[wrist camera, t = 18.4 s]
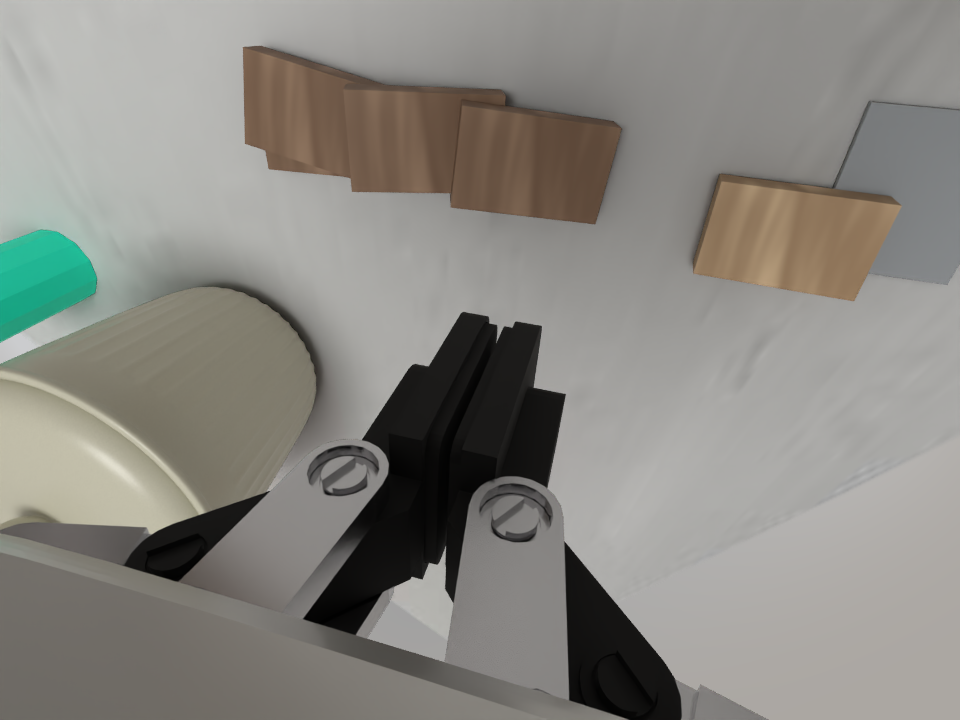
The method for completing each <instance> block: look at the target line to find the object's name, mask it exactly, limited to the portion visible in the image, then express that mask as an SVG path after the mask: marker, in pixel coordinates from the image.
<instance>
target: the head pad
mask: <svg viewBox="0 0 960 720" xmlns="http://www.w3.org/2000/svg"><path fill="white" fill-rule="evenodd" d="M833 189H839V190H846V191H854V192H862V193H869V194H877V195H884V196H891V197H892V198H894V199H895V200H896V201H897V202H898V203H899V204H901V205H902V207H901V209H900V211H899V213H898V215H897V217H896V219H895V221H894V223H893V224H892V226H891V228H890V230H889V232H888V234H887V236H886V238H885V240H884V242H883V244H882V246H881V248H880V250H879V252H878V254H877V256H876V258H875V260H874V262H873V264H872V266H871V268H870V270H869V272H868V274H875V275H882V276H889V277H896V278H903V279H909V280H916V281H923V282H930V283H937V284H944V285H948V283H949V281H950V280H951V278H952V276H953V275H954V273H955V271H956V270H957V268H958V266H959V265H960V110H956V109H945V108H934V107H924V106H913V105H902V104H892V103H881V102H870V101H869V104H868V106H867V108H866V111H865V113H864V115H863V118H862V120H861V122H860V125H859V127H858V130H857V132H856V134H855V137H854V139H853V141H852V144H851V146H850V149H849V151H848V153H847V156H846V158H845V160H844V163H843V165H842V167H841V170H840V172H839V175H838V177H837V179H836V182H835V184H834V186H833Z"/></svg>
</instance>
